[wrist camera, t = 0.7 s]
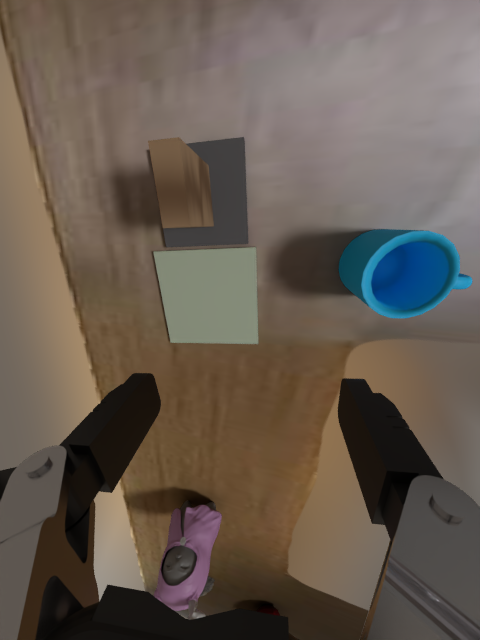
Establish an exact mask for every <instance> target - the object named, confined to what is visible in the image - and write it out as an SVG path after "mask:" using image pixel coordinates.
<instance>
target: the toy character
mask: <svg viewBox="0 0 480 640" xmlns="http://www.w3.org/2000/svg"><path fill="white" fill-rule="evenodd" d="M221 517H222V515H221V513H219V512H218V511H216V506H215V503H214V502H210V503H208V504H206V505H199V506H196V507H194V508H192V505H191V503H190V502H189V501H186V502H185V503H184V504H183V505H182V507H181V508H180V509H178V508H176V509H175V510H174V511H173V513H172V515H171V523H170V527H169V535H168V544H167V547H166V549H165V551H164V554H163V558H162V562H161V566H160V571H159V577H158V585H157V588H156V590H155V593H154V597H156V598H157V599H158V600H160V601H161V602H163V603H164V604H165V605H167V606H168V607H169V608H171V609H172V610H176V611H180V610H185V609H188V608H189V617H188V619H189V620H191V619H197V618H201V617H205V614H204V613H203V612H201V611H199V610H197V609H196V606H197V602H198V597H199V596H200V594H201V593H202V591H203V589H204V587H205V584H206V581H207V577H208V572H209V566H210V555H211V549H212V547H213V544H214V541H215V539H216V537H217V534H218V531H219V526H220V523H221Z"/></svg>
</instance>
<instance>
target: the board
mask: <svg viewBox="0 0 480 640" xmlns="http://www.w3.org/2000/svg"><path fill="white" fill-rule="evenodd" d="M153 253H154V258H155V263H156V268H157V274H158V279H159V284H160V289H161V295H162V300H163V305H164V310H165V316H166V321H167V326H168V331H169V337H170V342H171V343H231V344H258V310H257V268H256V247H244V248H221V249H198V250H175V251H155V252H153Z"/></svg>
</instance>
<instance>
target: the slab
mask: <svg viewBox="0 0 480 640" xmlns="http://www.w3.org/2000/svg"><path fill="white" fill-rule="evenodd" d="M148 143H149V149H150V155H151V161H152V167H153V173H154V179H155V185H156V191H157V197H158V202H159V208H160V214H161V220H162V226H163V228H194V227H212V226H214V222H213V210H212V199H211V188H210V177H209V165H208V164H207V163H205V162H204V161H203V160H202V159H201V158H200V157H199V156H198V155H197V154H196V153H195V152H194V151H193V150H192V149H191V148H190V147H189V146H187V145H186V144H185V143H184V142H183V141H182V140H181V139H180V138H179V137H178V138H170V139H161V140H153V141H148Z"/></svg>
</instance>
